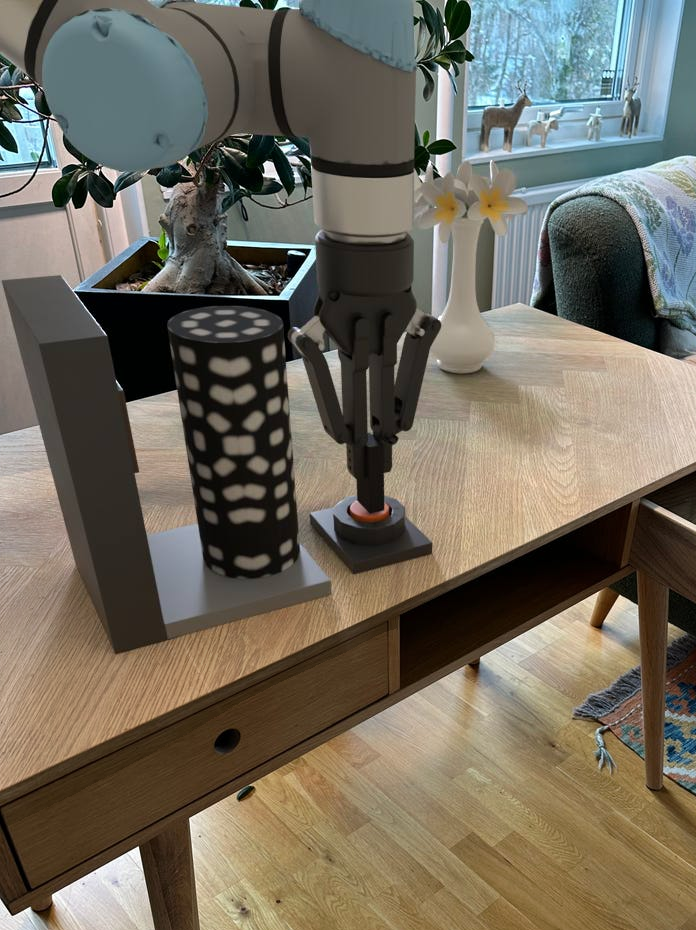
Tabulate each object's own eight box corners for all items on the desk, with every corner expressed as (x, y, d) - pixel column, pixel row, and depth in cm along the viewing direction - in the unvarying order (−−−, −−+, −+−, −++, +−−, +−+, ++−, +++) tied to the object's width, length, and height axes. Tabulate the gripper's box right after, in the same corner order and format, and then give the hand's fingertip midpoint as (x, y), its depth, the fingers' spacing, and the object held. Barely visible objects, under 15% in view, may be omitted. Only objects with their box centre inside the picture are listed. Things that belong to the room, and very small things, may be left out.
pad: (309, 523, 85) (307, 495, 83) (384, 506, 88) (384, 479, 87) (353, 574, 78) (352, 546, 77) (432, 553, 82) (433, 525, 80)
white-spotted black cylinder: (249, 519, 82) (224, 299, 70) (319, 547, 79) (306, 321, 67) (182, 558, 76) (142, 324, 64) (255, 590, 73) (227, 351, 61)
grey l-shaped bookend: (75, 565, 77) (1, 280, 62) (272, 520, 85) (247, 258, 70) (115, 654, 68) (38, 343, 53) (331, 594, 76) (316, 310, 61)
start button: (344, 519, 83) (343, 503, 82) (378, 511, 84) (378, 495, 83) (360, 537, 80) (360, 520, 79) (395, 528, 82) (395, 512, 81)
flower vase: (422, 338, 128) (426, 144, 113) (535, 367, 122) (555, 164, 106) (370, 363, 119) (367, 155, 104) (489, 396, 112) (503, 179, 97)
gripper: (416, 214, 72) (414, 474, 87) (264, 225, 66) (288, 502, 81) (463, 236, 67) (452, 508, 82) (302, 250, 62) (321, 540, 76)
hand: (370, 505), depth 81 cm, fingers closed
